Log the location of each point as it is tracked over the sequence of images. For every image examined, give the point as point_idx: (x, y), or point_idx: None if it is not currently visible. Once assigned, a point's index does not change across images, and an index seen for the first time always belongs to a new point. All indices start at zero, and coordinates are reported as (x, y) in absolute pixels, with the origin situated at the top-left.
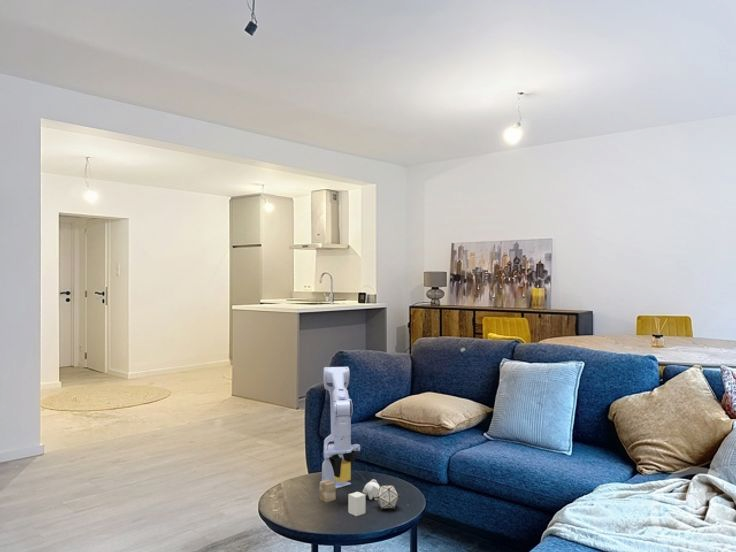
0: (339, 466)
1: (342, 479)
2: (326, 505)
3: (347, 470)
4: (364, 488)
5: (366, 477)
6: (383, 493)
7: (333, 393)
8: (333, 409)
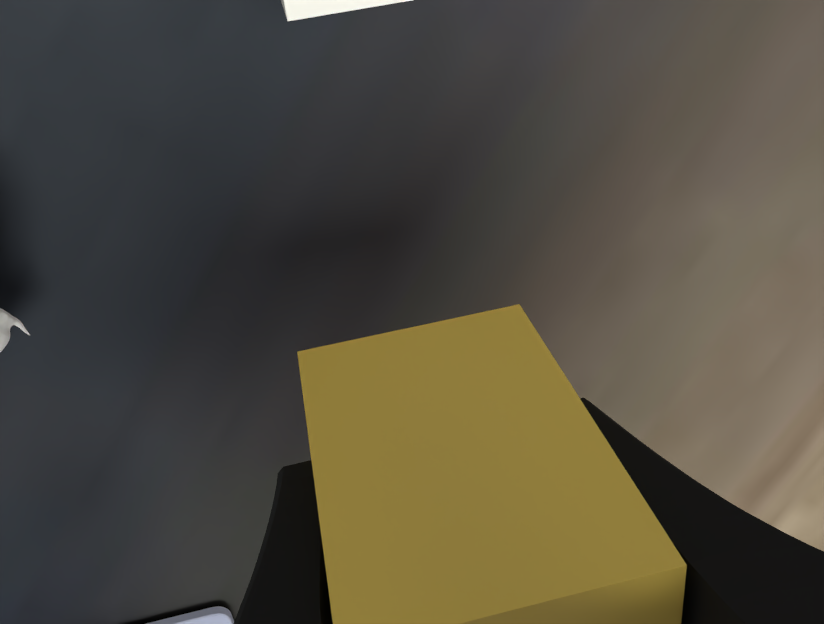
0: (709, 537)
1: (512, 337)
2: (524, 286)
3: (418, 470)
4: None
5: None
6: None
7: None
8: None
